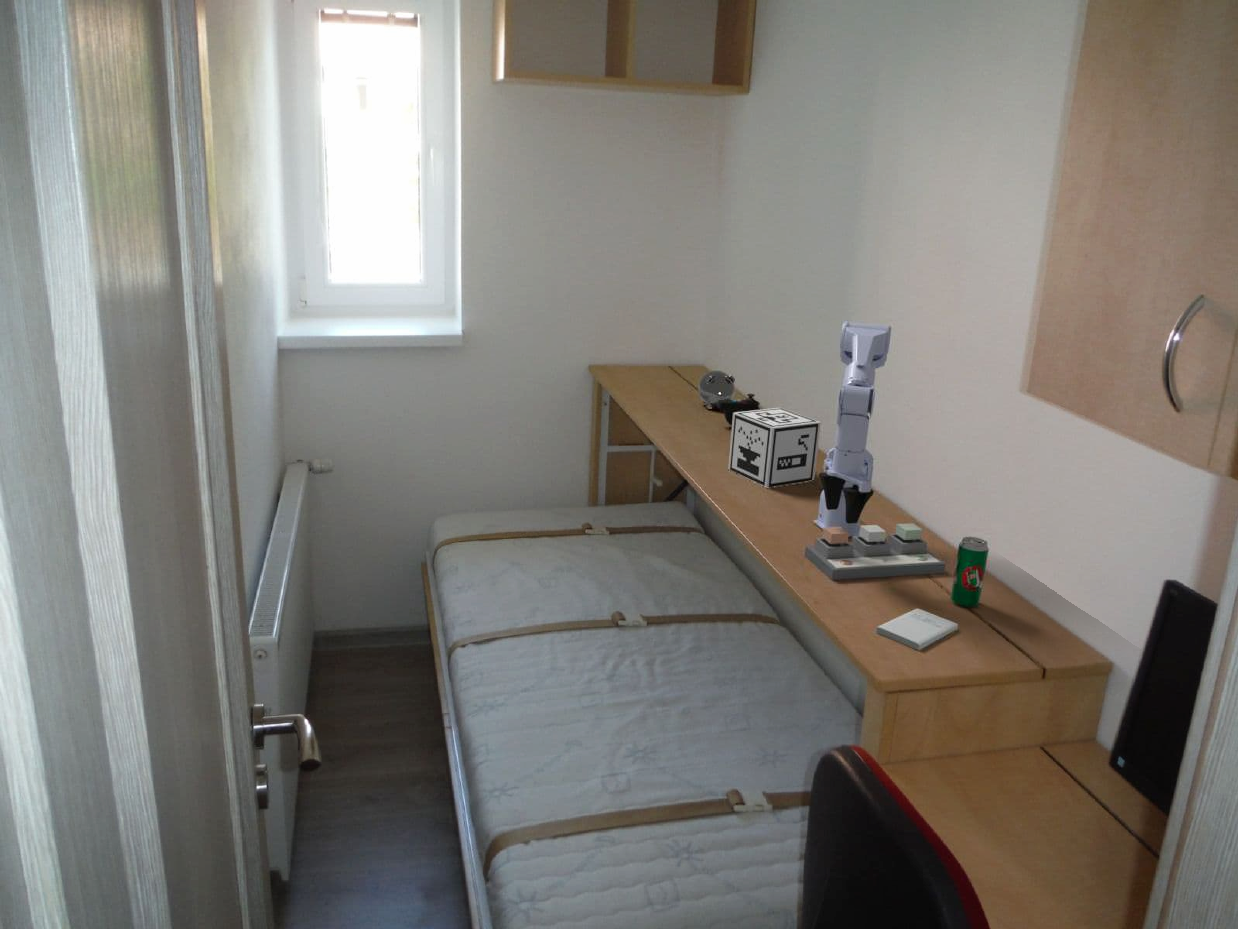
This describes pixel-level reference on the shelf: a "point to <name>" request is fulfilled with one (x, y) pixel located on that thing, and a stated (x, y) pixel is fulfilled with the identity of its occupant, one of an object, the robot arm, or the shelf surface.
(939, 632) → the external hard drive
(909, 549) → the button board
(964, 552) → the soda can
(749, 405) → the controller
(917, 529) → the sage button
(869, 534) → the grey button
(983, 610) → the shelf surface
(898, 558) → the pattern card
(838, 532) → the terracotta button
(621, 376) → the shelf surface
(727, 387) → the piggy bank
